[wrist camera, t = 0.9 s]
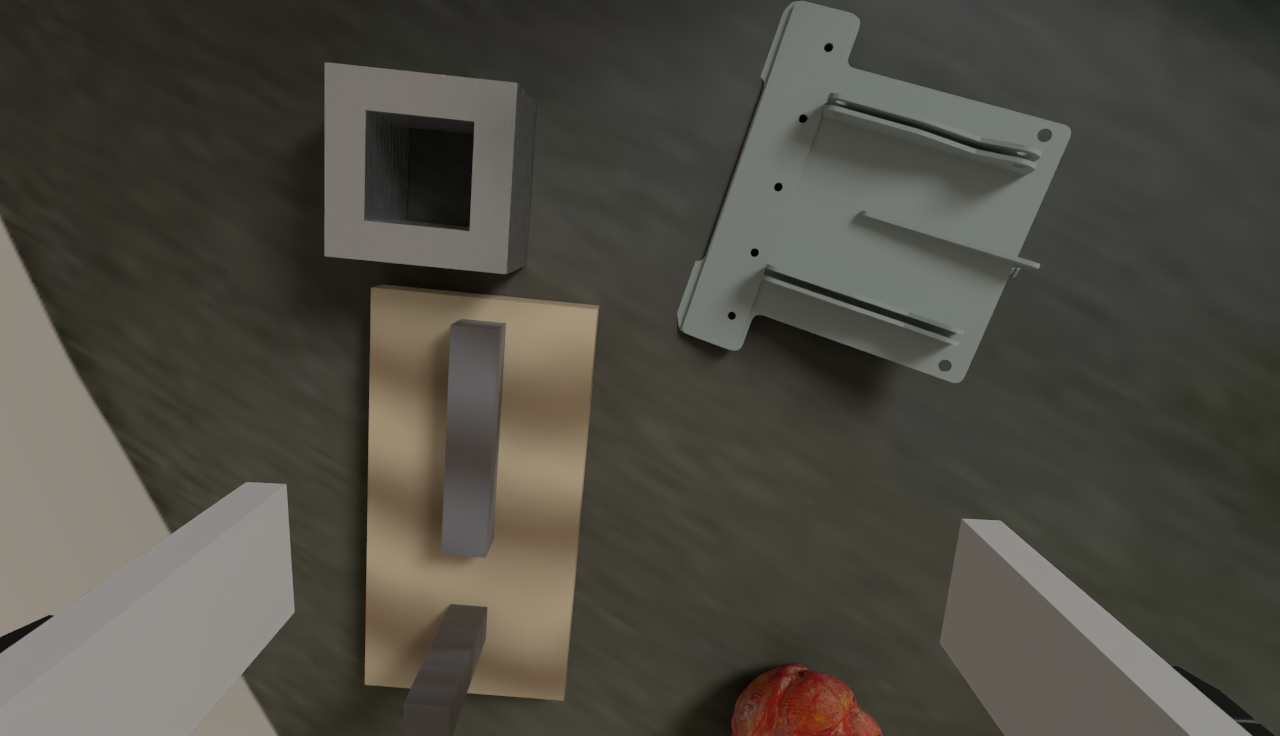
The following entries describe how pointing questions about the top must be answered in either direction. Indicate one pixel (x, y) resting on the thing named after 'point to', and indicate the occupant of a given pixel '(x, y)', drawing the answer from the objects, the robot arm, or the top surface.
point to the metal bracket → (870, 207)
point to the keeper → (473, 495)
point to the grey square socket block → (378, 167)
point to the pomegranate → (799, 706)
